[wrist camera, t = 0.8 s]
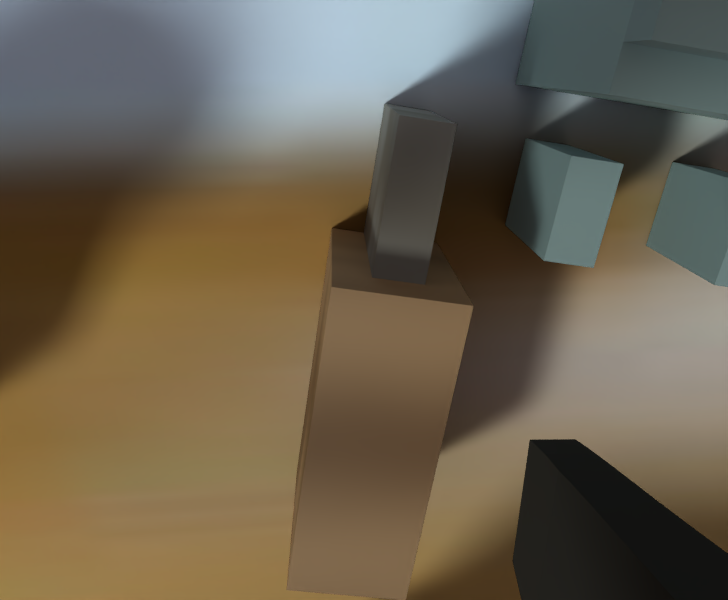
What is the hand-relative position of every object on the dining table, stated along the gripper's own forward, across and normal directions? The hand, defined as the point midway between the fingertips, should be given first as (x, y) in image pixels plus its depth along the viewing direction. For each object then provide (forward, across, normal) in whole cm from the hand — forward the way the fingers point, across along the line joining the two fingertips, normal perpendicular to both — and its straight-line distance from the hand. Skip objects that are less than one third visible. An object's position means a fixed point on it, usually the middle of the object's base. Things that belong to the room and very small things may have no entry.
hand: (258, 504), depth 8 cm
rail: (+10, -2, +1) cm, 11 cm away
